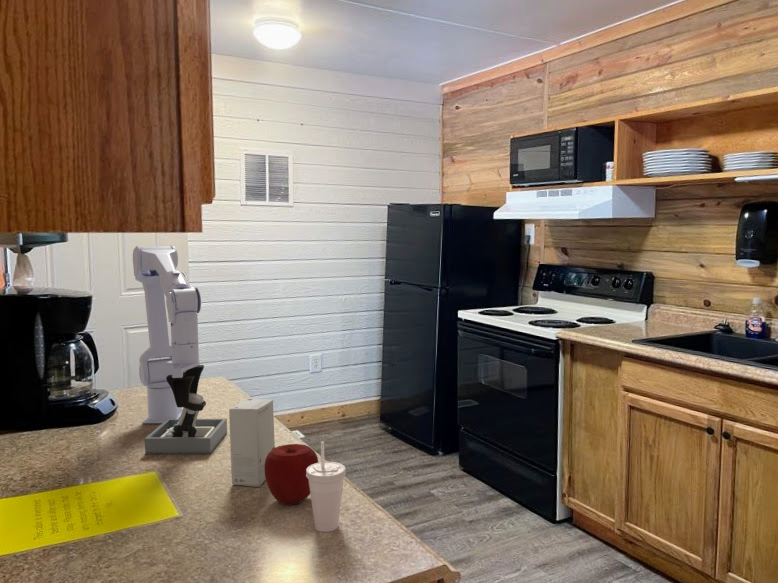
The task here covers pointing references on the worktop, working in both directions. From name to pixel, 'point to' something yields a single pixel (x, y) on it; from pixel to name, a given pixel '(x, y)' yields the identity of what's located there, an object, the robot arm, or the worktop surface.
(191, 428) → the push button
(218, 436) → the grey square tray
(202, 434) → the cream rectangular frame
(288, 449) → the apple
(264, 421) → the skincare box
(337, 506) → the smoothie
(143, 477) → the worktop surface
